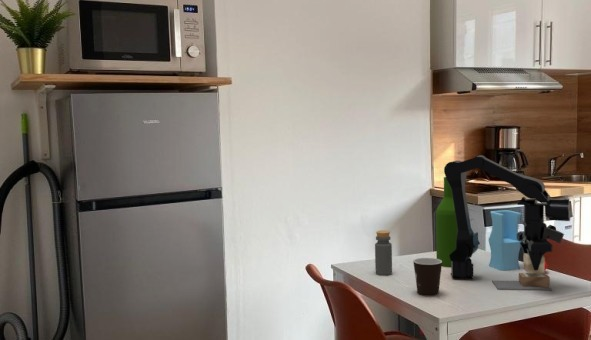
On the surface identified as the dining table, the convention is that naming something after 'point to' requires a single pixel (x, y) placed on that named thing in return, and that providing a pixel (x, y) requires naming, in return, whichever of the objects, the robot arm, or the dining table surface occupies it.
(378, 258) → the bottle
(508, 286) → the mat
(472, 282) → the dining table surface
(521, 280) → the brown block
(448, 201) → the wine bottle
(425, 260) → the coffee mug
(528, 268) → the birch cube
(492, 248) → the vase
